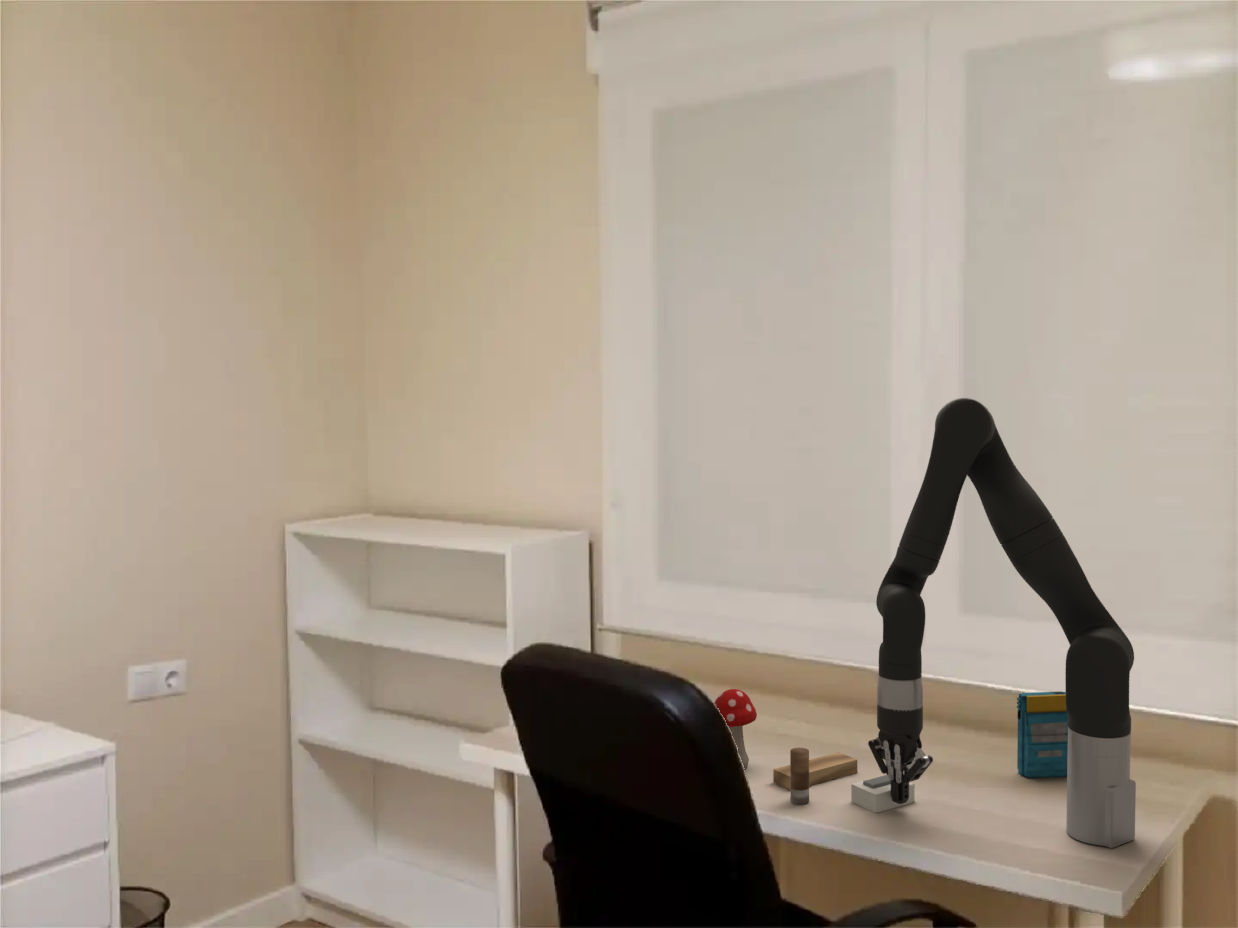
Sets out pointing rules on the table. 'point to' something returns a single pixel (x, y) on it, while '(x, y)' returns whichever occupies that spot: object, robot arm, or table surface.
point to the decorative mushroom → (737, 716)
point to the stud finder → (877, 794)
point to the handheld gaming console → (1042, 735)
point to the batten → (819, 770)
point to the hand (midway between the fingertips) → (899, 801)
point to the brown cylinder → (799, 775)
